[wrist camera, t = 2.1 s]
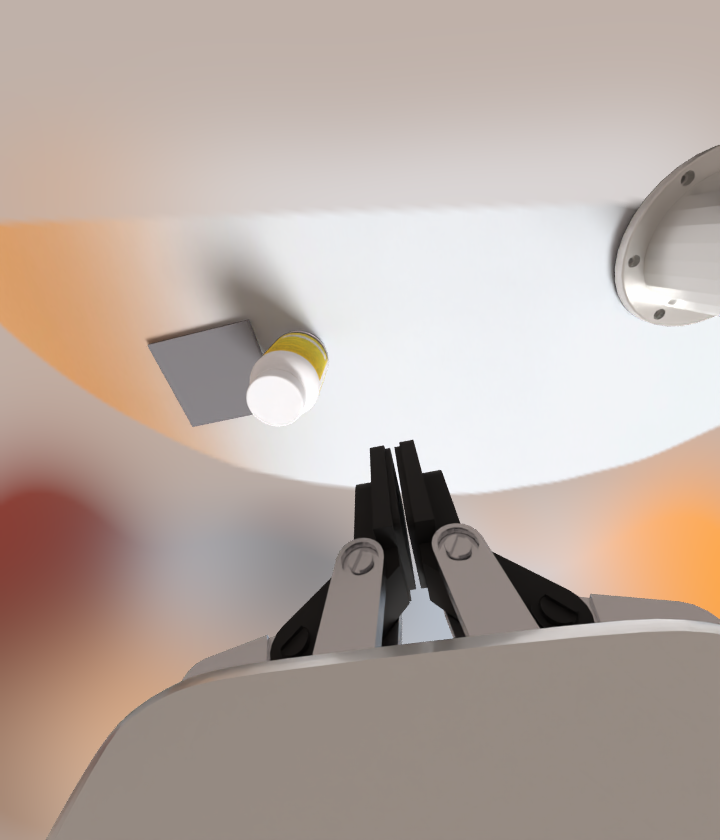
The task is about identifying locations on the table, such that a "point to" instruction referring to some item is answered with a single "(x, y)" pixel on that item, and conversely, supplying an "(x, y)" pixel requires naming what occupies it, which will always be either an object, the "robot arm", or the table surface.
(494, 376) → the table surface
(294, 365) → the supplement bottle
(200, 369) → the mat
